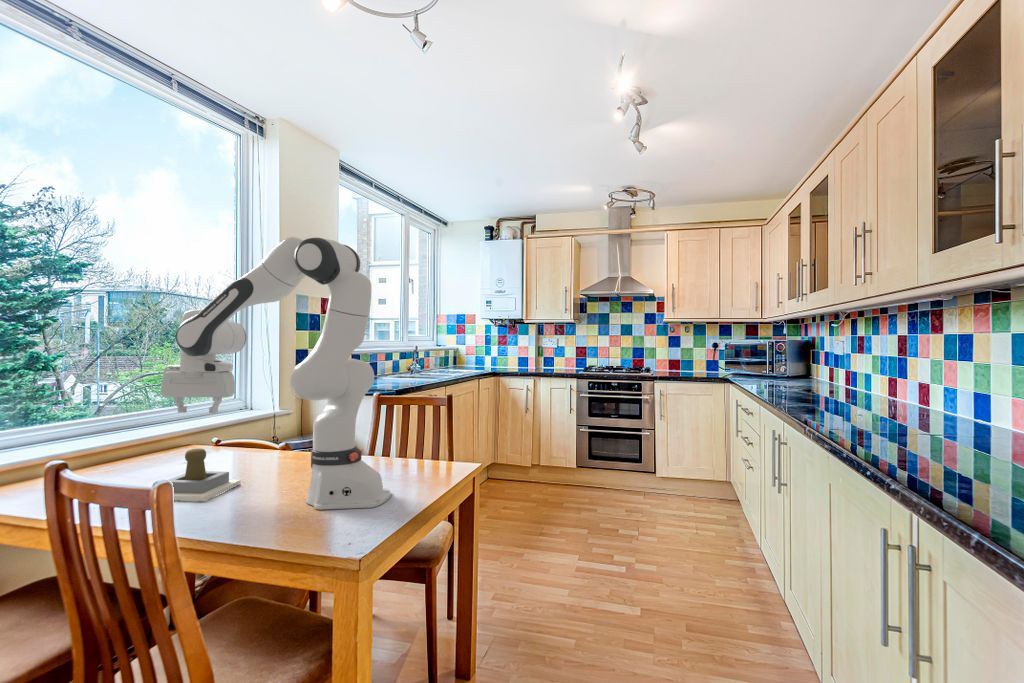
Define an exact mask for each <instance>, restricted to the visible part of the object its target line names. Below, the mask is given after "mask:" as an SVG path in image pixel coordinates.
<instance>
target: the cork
mask: <svg viewBox="0 0 1024 683" xmlns="http://www.w3.org/2000/svg"><path fill="white" fill-rule="evenodd" d="M184 458H185V459H184V460H185V461H186V468H185V473H184V474H185V480H198V481H201V480H203V479H206V465H205V459H206V458H207V451H206V449H204V448H193V449H188V450H187V451H186V452H185V455H184Z"/></svg>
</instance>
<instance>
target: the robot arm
mask: <svg viewBox="0 0 1024 683" xmlns="http://www.w3.org/2000/svg"><path fill="white" fill-rule="evenodd" d="M360 269H361V259H360V257H359V255H358V253H357V252H356V251H355V250H354V248H351V247H350V246H349V245H346V244H344V243H340V242H338V241H335V240H334V239H333V240H332V239H329V238H322V237H311V238H310V237H309V238H306V239H302V238H299V237H294V236H290V237H287V238H285V239H284V240H282V241H281V242H279V243H278V244H277V245H275V246H274V247H273V248H272V249H271V250H269V252H268V253H267V254H266V255H265V256H264V257H263V258H262V259H261V261H260V262H259V263H258V264H256V265H255V266H254V267H253V269H251V270H250V271H248V272H247V273H246V274H244V275H243V276H241V277H240V278H238V279H236V280H235V281H233V282H232V283H230V284H229V285H227V287H226V288H224V289H223V290H222V291H221V292H220V293H218V295H216V297H214V298H213V299H212V300H211V301H210V302H209V303H208V304H207V305H205V307H203V308H199V309H191V310H187V311H185V312H184V313H183V315H182V317H181V322H180V325H179V327H178V328H177V330H176V334H175V335H176V336H175V339H176V341H175V342H176V343H177V346H178V348H179V349H180V353H179V365H176V364H175V365H174V364H173V365H172V364H170V365H168V366H167V367H165V368H164V369H163V372H162V375H163V377H162V381H161V386H160V387H161V388H160V394H161V396H162V397H163V398H173V402H174V404H175V405H176V407H177V413H178V414H184V413H185V414H186V413H187V411H188V410H187V409H188V406H187V405H184V402H183V401H184V398H212V402H213V403H212V405H211V406H208V413H209V414H217V413H218V411H219V406H220V405H221V403H222V401H223V399H224V398H231V397H233V396H234V395H235V392H236V385H235V376H234V374H233V373H232V371H233V369H234V366H233V364H232V363H231V362H230V363H229V362H227V361H225V360H224V361H223V360H221V359H218V358H217V355H230V354H231V355H233V354H236V353H238V352H240V351H242V350H243V348H244V347H245V345H246V342H247V333H246V330H245V328H244V327H243V325H242V324H240V323H239V322H235V321H232V320H230V319H231V318H232V317H234V315H235V314H236V313H238V312H239V311H242V310H243V309H245V308H247V307H252V306H255V305H260V304H269V303H276V302H279V301H281V300H283V299H285V298H286V297H287V296H289V295H290V294H291V293H292V292H294V290H295V289H296V288H297V287H298V285H299V284H300V283H301V282H302V281H303V279H305V278H306V277H308V278H310V279H312V280H314V281H315V282H317V283H318V284H320V285H323V286H325V285H327V287H328V289H329V298H328V303H327V307H326V313H325V318H324V321H323V326H322V330H321V332H320V336H319V338H318V341H317V342H316V343H315V345H314V347H313V349H312V350H311V352H310V353H309V354H308V356H306V357H305V358H304V359H303V360H302V361H300V363H298V364H296V366H295V367H294V368H293V369H292V371H291V373H290V377H289V384H290V388H291V390H292V392H293V394H294V395H295V396H296V397H297V398H299V399H301V400H302V399H303V400H308V401H324V400H326V404H325V407H324V408H323V410H322V411H321V412H320V413H319V414H318V415H317V416H316V417H315V418H314V420H313V424H312V448H311V451H310V467H311V477H310V482H309V484H310V485H309V489H308V493H307V496H306V499H305V502H306V504H308V505H311V506H313V508H314V509H315V510H321V511H322V510H338V509H339V510H340V509H341V510H342V509H367V508H370V509H371V508H376V507H379V506H381V505H382V504H384V503H386V502H387V501H388V500H389V499H390V497H391V495H392V492H391V490H390V489H388V488H384V486H383V479H382V477H381V474H380V472H379V471H377V470H376V469H374V468H373V467H371V466H370V465H368V464H367V463H366V462H365V461H363V460H362V454H363V453H364V448H362V449H359V448H358V447H357V446H356V424H357V423H356V421H357V417H358V412H359V409H360V407H361V404H362V401H363V400H364V397H365V395H366V394H367V392H368V391H370V390H371V389H372V387H373V385H374V382H375V371H374V369H373V367H372V365H370V363H369V362H367V361H365V360H361V359H356V358H349V357H350V356H351V354H352V353H353V352H354V351H355V350H356V349H358V348H359V347H360V346H361V345H362V344H363V342H364V340H365V335H366V331H367V327H368V326H367V325H368V321H369V316H370V311H371V305H372V304H371V303H372V282H371V280H370V279H369V277H367V275H366V274H363V273H362V272H359V271H360Z"/></svg>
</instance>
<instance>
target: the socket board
mask: <svg viewBox="0 0 1024 683" xmlns="http://www.w3.org/2000/svg"><path fill="white" fill-rule="evenodd" d="M205 471H206V470H205ZM168 480H169V481H171V482H172V483H173V487H174V500H175V501H174V502H178V501H177V500H181V501H180V502H197V501H205V502H207V501H209V500H211V499H213V498H215V497H217V496H216V495H218V494H220V493H222V492H224V491H226V490H228V491H230V490H232V489H231V488H233V487H235V486H237V485H239V484H240V485H241V479H230V471H208V470H207V471H206V479H203V480H201V481H198V480H185V473H183V474H181V475H177V476H175V477H174V476H173V477H172V478H169V479H168ZM240 485H239V486H240ZM237 487H238V486H237ZM235 488H236V487H235ZM229 489H230V490H229ZM233 489H234V488H233ZM226 492H227V491H226ZM224 493H225V492H224ZM222 494H223V493H222ZM220 495H221V494H220ZM214 496H215V497H214ZM218 496H219V495H218ZM212 497H213V498H212ZM210 498H211V499H210ZM208 499H209V500H208ZM206 500H207V501H206Z"/></svg>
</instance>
